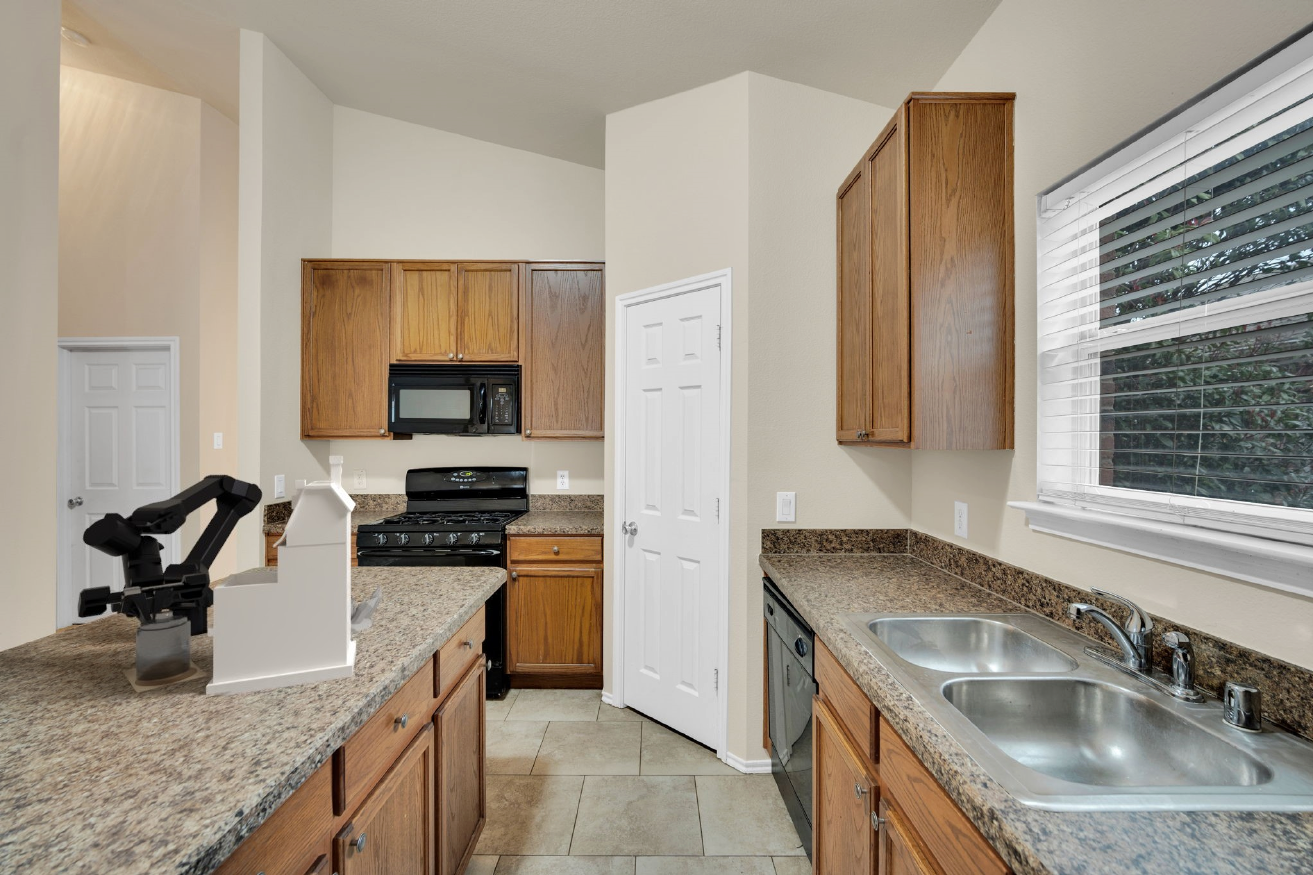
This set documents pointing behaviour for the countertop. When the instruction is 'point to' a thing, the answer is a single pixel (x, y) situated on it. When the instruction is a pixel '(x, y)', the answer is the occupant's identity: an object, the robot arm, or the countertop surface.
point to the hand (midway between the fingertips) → (152, 632)
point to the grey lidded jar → (163, 647)
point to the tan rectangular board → (152, 684)
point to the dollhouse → (291, 601)
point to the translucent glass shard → (364, 611)
